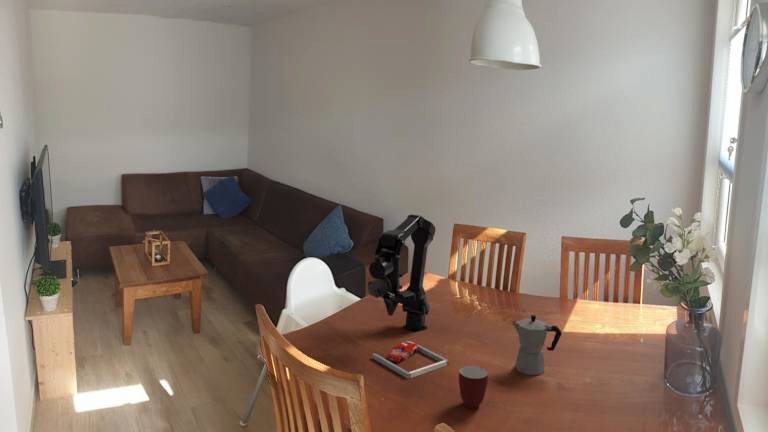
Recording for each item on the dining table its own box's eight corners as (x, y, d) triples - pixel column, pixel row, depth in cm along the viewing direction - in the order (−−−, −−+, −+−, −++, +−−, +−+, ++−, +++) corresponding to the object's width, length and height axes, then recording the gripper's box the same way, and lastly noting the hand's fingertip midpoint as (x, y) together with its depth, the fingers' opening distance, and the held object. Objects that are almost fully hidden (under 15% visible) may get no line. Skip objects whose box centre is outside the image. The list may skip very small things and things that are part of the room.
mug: (463, 392, 185) (465, 360, 183) (490, 397, 182) (492, 365, 180) (454, 408, 175) (455, 375, 173) (482, 414, 172) (484, 380, 170)
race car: (397, 365, 202) (398, 354, 201) (384, 361, 205) (384, 349, 204) (420, 352, 212) (420, 340, 212) (407, 347, 216) (407, 336, 215)
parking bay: (412, 346, 216) (412, 341, 216) (448, 364, 203) (449, 360, 202) (372, 358, 206) (372, 354, 206) (408, 378, 192) (408, 374, 192)
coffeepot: (505, 371, 199) (509, 317, 195) (511, 359, 207) (515, 307, 204) (556, 380, 193) (560, 325, 190) (560, 368, 202) (564, 314, 198)
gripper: (354, 268, 211) (354, 312, 214) (390, 282, 196) (389, 329, 200) (381, 262, 217) (380, 305, 221) (417, 276, 203) (415, 321, 207)
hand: (390, 315), depth 212 cm, fingers closed
